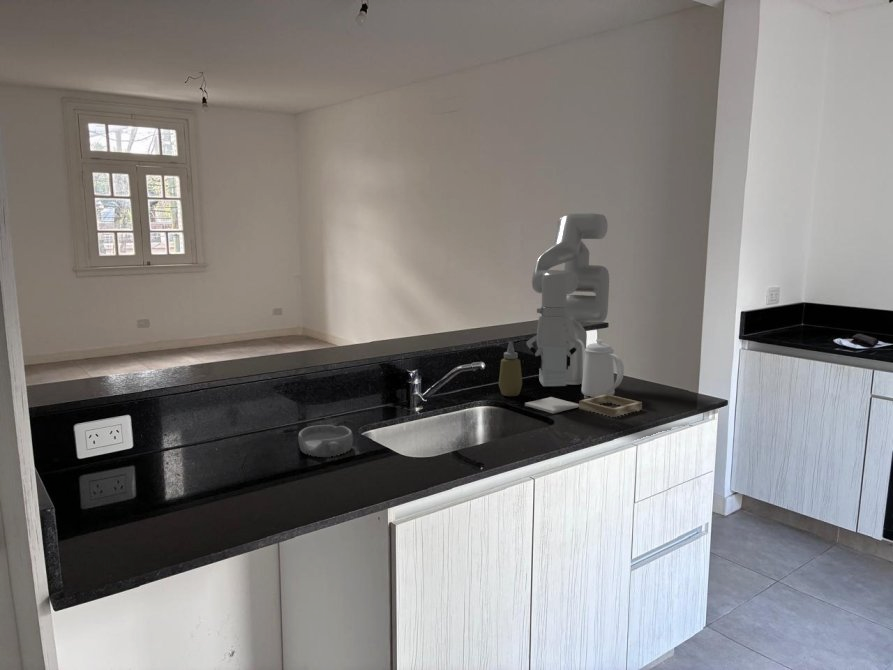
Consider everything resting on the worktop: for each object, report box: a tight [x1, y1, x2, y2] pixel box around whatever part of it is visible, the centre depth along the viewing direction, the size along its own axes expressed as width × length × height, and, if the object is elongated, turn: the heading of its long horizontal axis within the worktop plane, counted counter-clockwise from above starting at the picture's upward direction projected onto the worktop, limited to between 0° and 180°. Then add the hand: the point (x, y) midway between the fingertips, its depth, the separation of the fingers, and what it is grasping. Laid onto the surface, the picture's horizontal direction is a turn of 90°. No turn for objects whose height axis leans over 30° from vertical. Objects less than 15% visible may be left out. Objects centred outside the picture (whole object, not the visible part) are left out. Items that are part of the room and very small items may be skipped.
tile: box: [524, 396, 579, 414], centre depth 210 cm, size 12×12×1 cm
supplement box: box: [538, 346, 567, 387], centre depth 207 cm, size 7×7×13 cm
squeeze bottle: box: [498, 341, 523, 397], centre depth 223 cm, size 8×8×18 cm
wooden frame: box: [578, 394, 643, 418], centre depth 205 cm, size 13×13×2 cm
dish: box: [297, 424, 354, 458], centre depth 170 cm, size 14×14×5 cm
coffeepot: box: [577, 338, 625, 398], centre depth 223 cm, size 11×25×19 cm, turn 25°
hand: (552, 367), depth 208 cm, fingers closed on supplement box, 8 cm apart
